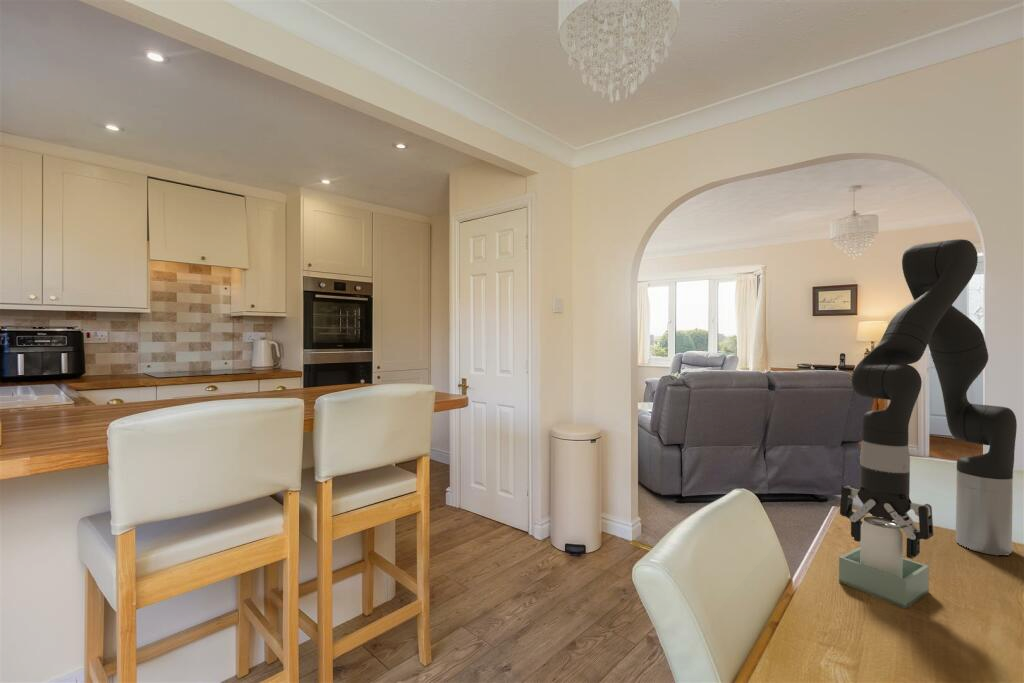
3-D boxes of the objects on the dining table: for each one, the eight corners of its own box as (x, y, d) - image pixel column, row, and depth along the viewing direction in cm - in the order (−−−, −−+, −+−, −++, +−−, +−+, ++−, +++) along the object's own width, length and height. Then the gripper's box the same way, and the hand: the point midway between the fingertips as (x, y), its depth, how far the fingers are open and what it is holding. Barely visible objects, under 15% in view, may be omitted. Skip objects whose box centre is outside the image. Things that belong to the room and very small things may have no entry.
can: (910, 593, 87) (911, 530, 87) (871, 589, 89) (871, 526, 89) (889, 576, 94) (890, 517, 94) (853, 573, 95) (854, 514, 95)
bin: (863, 568, 98) (863, 544, 98) (928, 592, 89) (928, 566, 89) (838, 582, 93) (839, 556, 93) (905, 608, 83) (906, 581, 83)
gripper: (939, 471, 87) (938, 558, 87) (851, 455, 99) (850, 531, 99) (923, 478, 83) (922, 569, 83) (834, 459, 95) (833, 539, 95)
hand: (883, 548), depth 91 cm, fingers open, 8 cm apart
